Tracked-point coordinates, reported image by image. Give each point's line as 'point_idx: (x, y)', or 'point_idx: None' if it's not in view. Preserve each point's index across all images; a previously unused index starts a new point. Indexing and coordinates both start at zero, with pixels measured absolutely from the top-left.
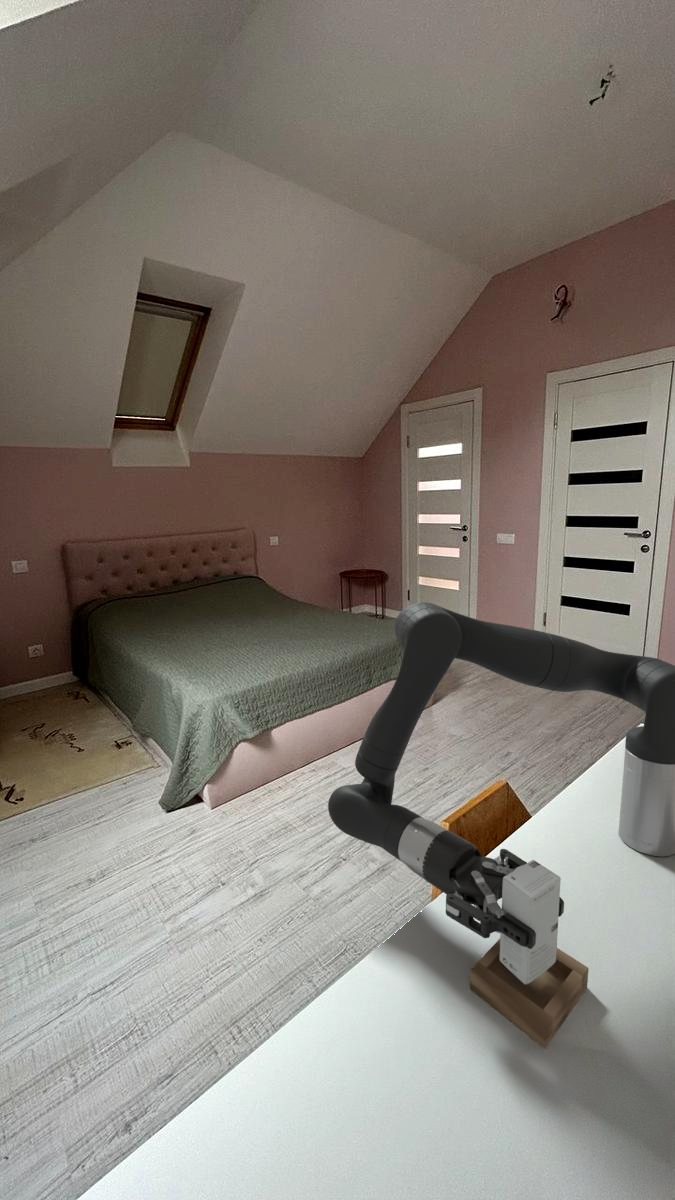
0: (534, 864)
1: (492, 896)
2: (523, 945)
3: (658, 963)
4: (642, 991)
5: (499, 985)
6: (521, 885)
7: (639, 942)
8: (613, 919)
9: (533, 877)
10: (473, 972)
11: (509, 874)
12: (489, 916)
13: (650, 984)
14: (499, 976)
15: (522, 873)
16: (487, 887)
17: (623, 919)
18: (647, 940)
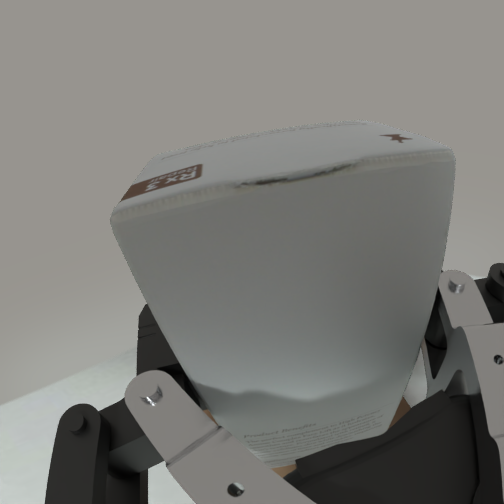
0: (160, 182)
1: (474, 325)
2: None
3: (76, 380)
4: (135, 369)
5: (399, 413)
6: (370, 127)
7: (55, 409)
8: (36, 451)
9: (272, 138)
10: None
11: (408, 147)
12: (494, 273)
13: (116, 370)
14: None
15: (313, 145)
16: (487, 380)
17: (28, 441)
18: (46, 404)
